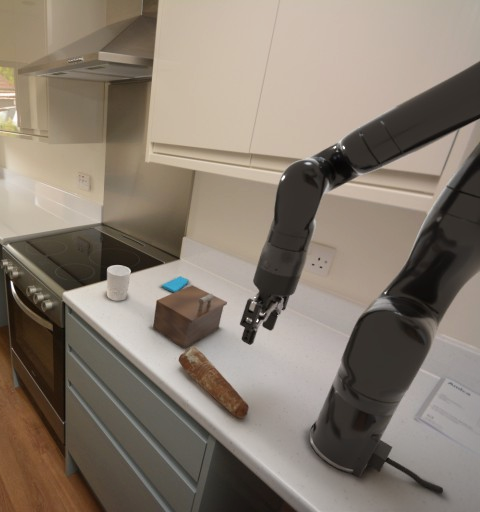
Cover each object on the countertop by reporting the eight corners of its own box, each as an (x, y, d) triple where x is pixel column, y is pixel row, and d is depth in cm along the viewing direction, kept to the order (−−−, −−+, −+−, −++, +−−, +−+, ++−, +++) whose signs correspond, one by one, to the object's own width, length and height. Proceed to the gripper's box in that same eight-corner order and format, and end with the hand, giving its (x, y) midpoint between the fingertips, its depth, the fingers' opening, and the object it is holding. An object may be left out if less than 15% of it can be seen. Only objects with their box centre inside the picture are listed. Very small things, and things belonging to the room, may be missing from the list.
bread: (194, 360, 89) (198, 343, 86) (251, 417, 73) (258, 397, 71) (174, 366, 86) (178, 348, 84) (229, 426, 70) (235, 406, 68)
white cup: (113, 288, 122) (115, 263, 119) (132, 295, 118) (135, 269, 114) (101, 296, 117) (102, 270, 113) (120, 304, 112) (122, 277, 108)
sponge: (193, 282, 128) (180, 274, 132) (174, 291, 121) (161, 283, 124) (192, 285, 129) (180, 278, 132) (173, 295, 121) (160, 287, 125)
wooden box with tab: (226, 304, 99) (229, 291, 97) (191, 323, 89) (194, 308, 87) (191, 287, 107) (193, 274, 106) (156, 302, 98) (158, 289, 96)
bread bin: (218, 328, 103) (224, 303, 99) (184, 349, 93) (189, 322, 89) (187, 311, 111) (191, 287, 107) (152, 328, 101) (156, 302, 98)
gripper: (282, 283, 58) (257, 358, 65) (316, 265, 66) (290, 332, 73) (241, 266, 63) (222, 337, 70) (277, 251, 71) (257, 315, 78)
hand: (257, 335), depth 71 cm, fingers open, 8 cm apart
